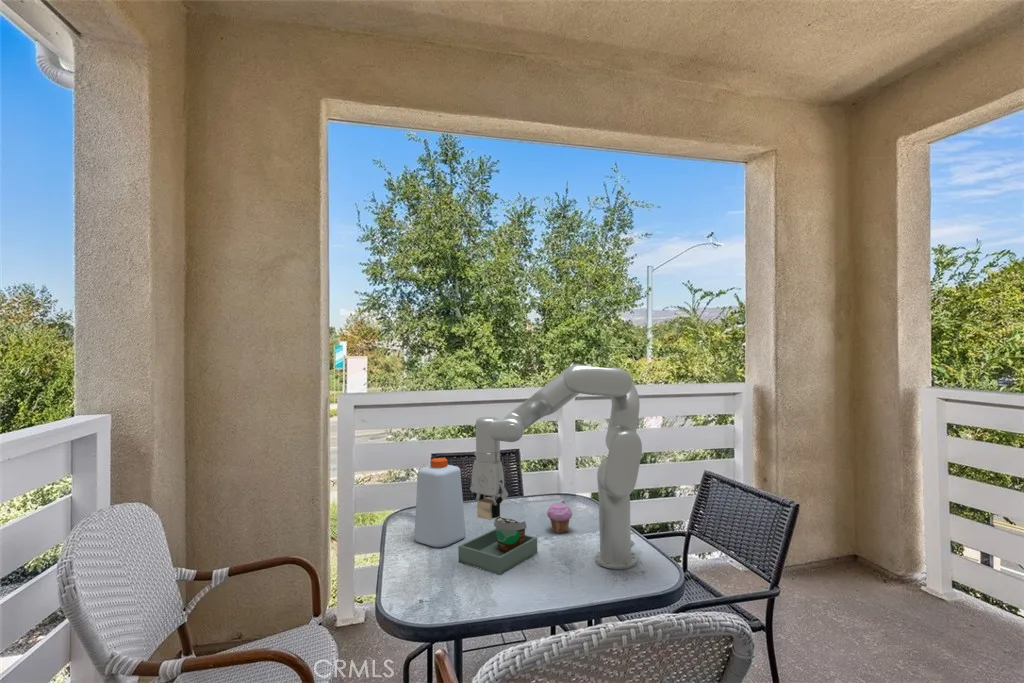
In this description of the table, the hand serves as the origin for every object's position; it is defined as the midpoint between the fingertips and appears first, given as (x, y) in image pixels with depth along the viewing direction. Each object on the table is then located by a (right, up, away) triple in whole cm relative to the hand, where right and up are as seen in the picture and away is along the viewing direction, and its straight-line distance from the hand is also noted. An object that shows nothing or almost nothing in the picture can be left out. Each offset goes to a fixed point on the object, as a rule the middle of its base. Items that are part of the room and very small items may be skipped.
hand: (488, 514), depth 158 cm
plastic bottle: (-18, -16, +20) cm, 31 cm away
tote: (+3, -15, +3) cm, 15 cm away
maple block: (0, -1, 0) cm, 1 cm away
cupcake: (+25, -15, +26) cm, 39 cm away
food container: (+5, -14, +6) cm, 16 cm away
